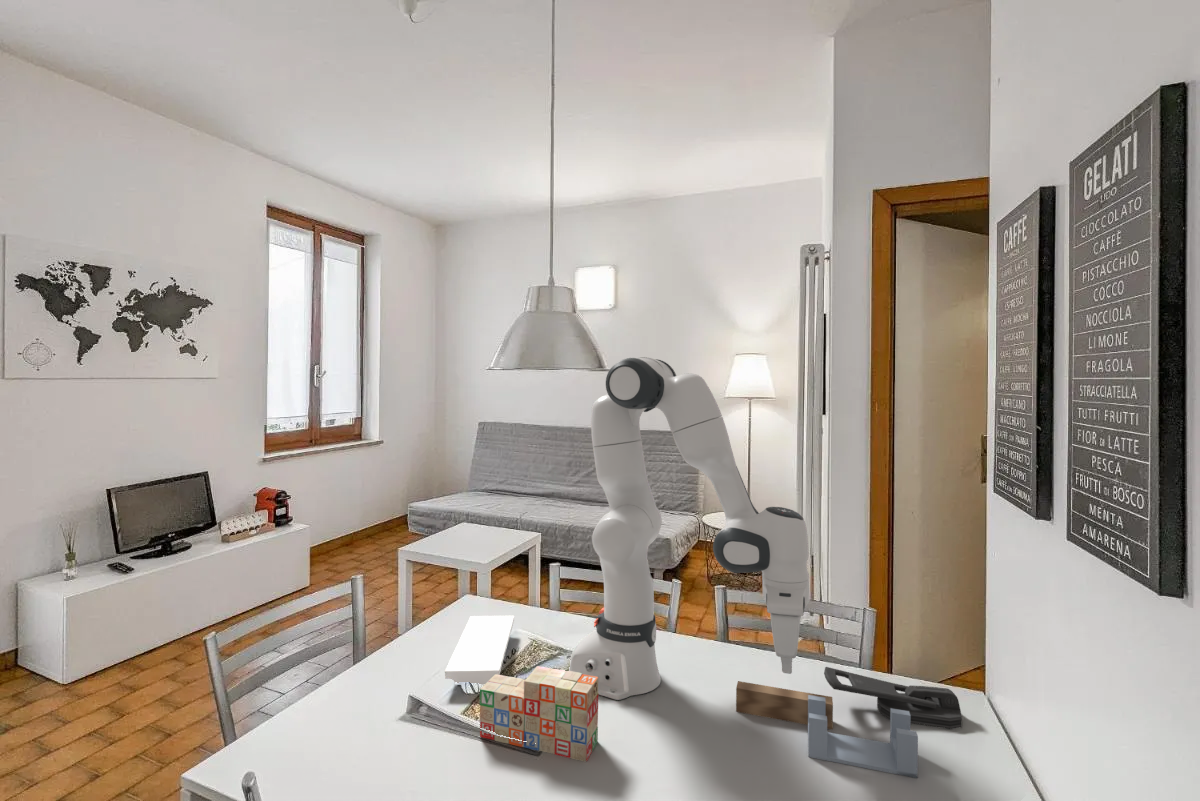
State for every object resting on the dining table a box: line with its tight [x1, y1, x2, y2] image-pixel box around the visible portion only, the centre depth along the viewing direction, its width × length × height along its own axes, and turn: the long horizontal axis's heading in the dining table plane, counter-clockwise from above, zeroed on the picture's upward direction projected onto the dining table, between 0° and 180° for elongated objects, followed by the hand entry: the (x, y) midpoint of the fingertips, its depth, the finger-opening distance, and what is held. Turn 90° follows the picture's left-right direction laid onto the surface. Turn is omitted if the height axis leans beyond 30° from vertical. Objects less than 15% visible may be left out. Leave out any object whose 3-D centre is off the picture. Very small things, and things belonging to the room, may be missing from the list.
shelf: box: [444, 615, 515, 684], centre depth 137 cm, size 12×30×5 cm, turn 2°
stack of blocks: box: [479, 665, 599, 763], centre depth 106 cm, size 21×6×12 cm, turn 71°
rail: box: [735, 681, 834, 730], centre depth 114 cm, size 18×3×5 cm, turn 70°
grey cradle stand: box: [807, 695, 919, 779], centre depth 102 cm, size 17×8×7 cm, turn 71°
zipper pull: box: [823, 666, 963, 730], centre depth 116 cm, size 9×7×25 cm
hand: (787, 660), depth 114 cm, fingers open, 8 cm apart
